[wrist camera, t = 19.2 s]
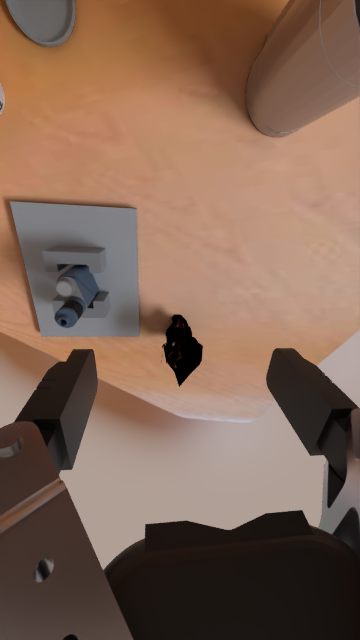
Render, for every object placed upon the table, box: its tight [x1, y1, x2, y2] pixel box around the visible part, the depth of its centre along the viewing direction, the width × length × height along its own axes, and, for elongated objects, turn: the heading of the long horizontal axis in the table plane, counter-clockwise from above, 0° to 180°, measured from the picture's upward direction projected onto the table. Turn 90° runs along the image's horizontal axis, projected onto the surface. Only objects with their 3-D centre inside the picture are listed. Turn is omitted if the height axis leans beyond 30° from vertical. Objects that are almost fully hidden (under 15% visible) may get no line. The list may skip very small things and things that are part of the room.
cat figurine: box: [161, 315, 203, 387], centre depth 36 cm, size 7×7×12 cm
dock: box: [10, 201, 140, 337], centre depth 34 cm, size 20×16×5 cm
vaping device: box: [54, 264, 99, 328], centre depth 30 cm, size 3×5×12 cm, turn 14°
